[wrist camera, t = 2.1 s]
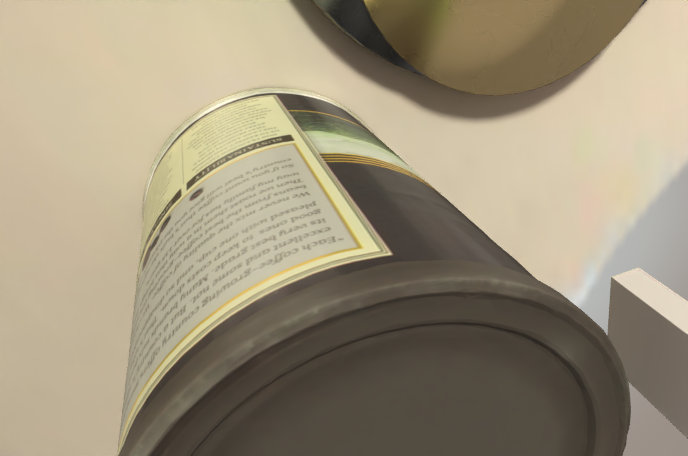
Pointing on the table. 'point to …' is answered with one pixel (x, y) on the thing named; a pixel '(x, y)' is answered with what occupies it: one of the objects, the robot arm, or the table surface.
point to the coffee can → (343, 307)
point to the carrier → (483, 37)
